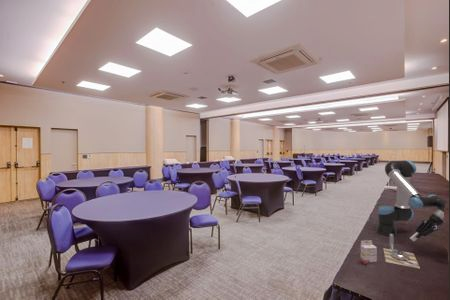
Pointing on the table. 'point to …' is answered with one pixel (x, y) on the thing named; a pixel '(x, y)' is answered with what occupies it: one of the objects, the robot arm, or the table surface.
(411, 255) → the level stand
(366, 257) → the ink cartridge box
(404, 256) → the cam capstan
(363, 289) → the table surface
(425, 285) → the table surface
